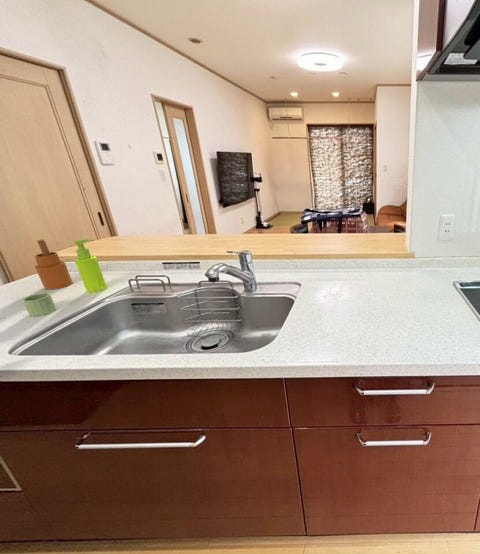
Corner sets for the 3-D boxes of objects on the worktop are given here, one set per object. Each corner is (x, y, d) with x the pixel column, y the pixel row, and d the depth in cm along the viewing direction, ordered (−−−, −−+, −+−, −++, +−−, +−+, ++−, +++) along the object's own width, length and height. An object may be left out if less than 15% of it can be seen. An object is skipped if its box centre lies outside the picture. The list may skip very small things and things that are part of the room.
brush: (52, 286, 115) (33, 241, 108) (53, 283, 118) (34, 239, 111) (65, 284, 117) (46, 240, 111) (65, 281, 120) (47, 238, 113)
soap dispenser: (113, 289, 115) (95, 239, 108) (90, 295, 110) (70, 243, 102) (107, 285, 118) (89, 236, 110) (84, 291, 113) (65, 240, 105)
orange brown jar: (43, 291, 112) (29, 259, 107) (45, 284, 118) (32, 253, 113) (72, 285, 117) (59, 254, 112) (73, 280, 123) (61, 250, 118)
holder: (28, 320, 93) (20, 303, 91) (31, 312, 97) (23, 296, 95) (56, 314, 97) (49, 297, 94) (57, 307, 101) (51, 291, 99)
